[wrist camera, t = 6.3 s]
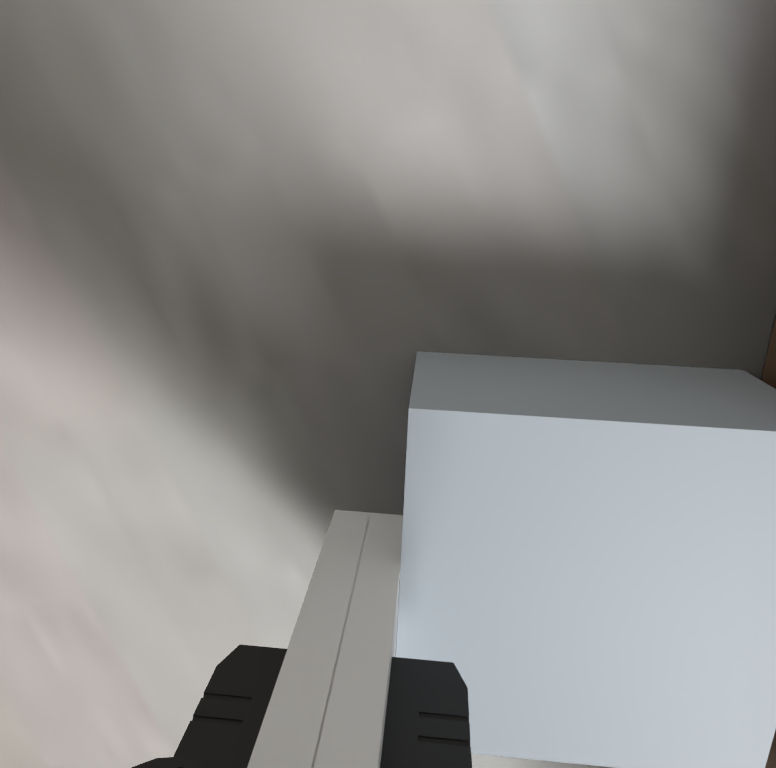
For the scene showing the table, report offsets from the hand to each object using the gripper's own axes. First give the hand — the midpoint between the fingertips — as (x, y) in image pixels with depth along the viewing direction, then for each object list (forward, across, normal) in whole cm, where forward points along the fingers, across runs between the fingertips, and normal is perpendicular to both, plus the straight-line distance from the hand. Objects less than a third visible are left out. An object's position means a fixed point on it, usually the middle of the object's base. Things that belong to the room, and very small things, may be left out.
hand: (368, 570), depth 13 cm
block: (+2, +4, +1) cm, 5 cm away
